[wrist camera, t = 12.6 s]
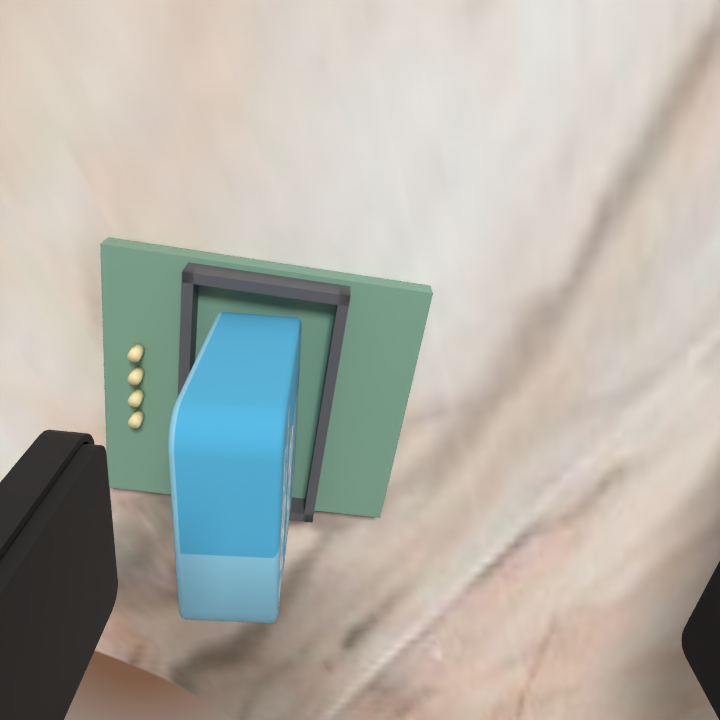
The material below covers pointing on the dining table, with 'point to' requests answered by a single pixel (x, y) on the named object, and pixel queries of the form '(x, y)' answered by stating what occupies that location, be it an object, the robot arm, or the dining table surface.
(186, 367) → the circuit board
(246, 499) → the data package
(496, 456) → the dining table surface
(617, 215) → the dining table surface
